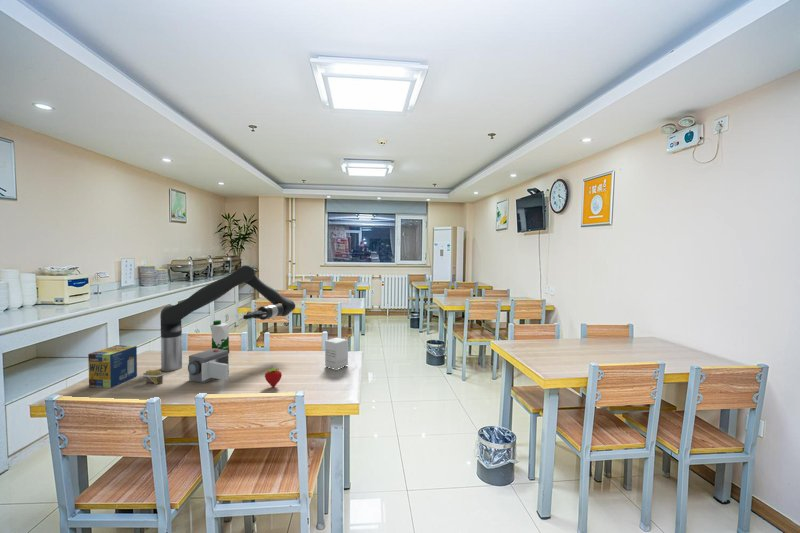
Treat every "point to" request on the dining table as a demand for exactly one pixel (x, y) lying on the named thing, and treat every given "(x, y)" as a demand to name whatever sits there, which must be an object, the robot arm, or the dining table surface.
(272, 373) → the strawberry
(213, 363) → the hatch
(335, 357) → the supplement box
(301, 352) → the dining table surface
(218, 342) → the milk carton
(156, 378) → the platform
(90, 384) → the protein box
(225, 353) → the camera body
